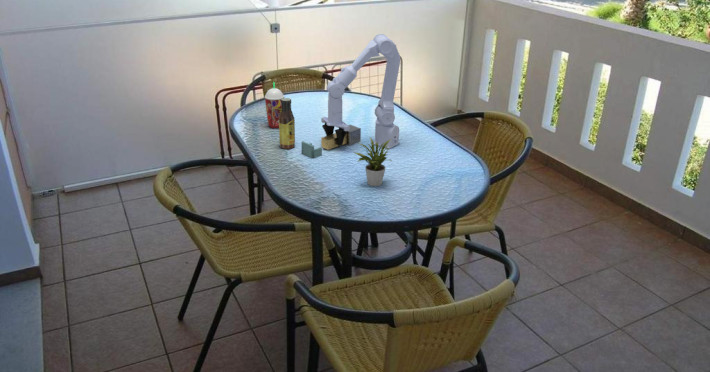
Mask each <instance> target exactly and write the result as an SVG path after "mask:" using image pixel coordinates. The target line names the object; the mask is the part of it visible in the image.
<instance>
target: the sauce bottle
mask: <svg viewBox="0 0 710 372" xmlns="http://www.w3.org/2000/svg"><path fill="white" fill-rule="evenodd" d="M281 103H282V111H281V113H280V115H279V128H278V132H279V133H278V134H279V135H278V137H279V147H280V148H281V149H286V150H289V149H293V148H295V144H296V130H295V129H296V128H295V127H296V124H295V123H296V122H295V119H296V118H295V116H294V114H293V111H292V99H291V98H289V97H284V98H283V99H281Z"/></svg>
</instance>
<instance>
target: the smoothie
mask: <svg viewBox="0 0 710 372" xmlns="http://www.w3.org/2000/svg"><path fill="white" fill-rule="evenodd" d="M272 85H273V86H272V87H271V88H269V89H268V90H267V92H266V94H265V95H264V101H265V109H266V110H265V111H266V118H267V120H266V121H267V124H268V126H269V128H272V129H279V115H280V113H281V111H282V103H281V99H283V98H285V95H284V94H283V92H282V90H281V89H279V88H277V87H275V86H276V83H275V81H273V82H272Z"/></svg>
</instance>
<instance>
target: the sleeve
mask: <svg viewBox="0 0 710 372" xmlns="http://www.w3.org/2000/svg"><path fill="white" fill-rule="evenodd" d="M348 125H349V131H348V132H347V133H349V135H348V143H346V144H345V145H346V146H347V145H348V146H351V145H355V144H358V143H360V142H361V141H362V140H361V138H362V129H361V127H358V126H356V125H352V124H348Z"/></svg>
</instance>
